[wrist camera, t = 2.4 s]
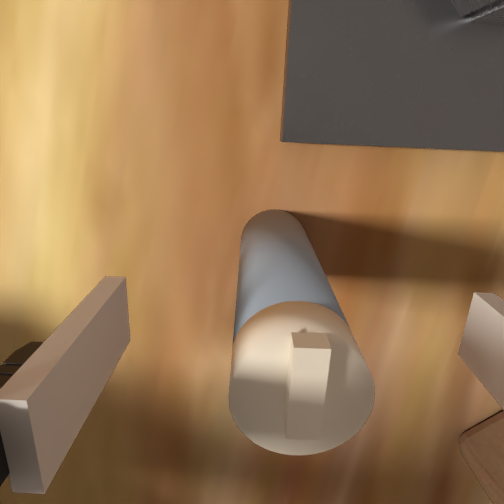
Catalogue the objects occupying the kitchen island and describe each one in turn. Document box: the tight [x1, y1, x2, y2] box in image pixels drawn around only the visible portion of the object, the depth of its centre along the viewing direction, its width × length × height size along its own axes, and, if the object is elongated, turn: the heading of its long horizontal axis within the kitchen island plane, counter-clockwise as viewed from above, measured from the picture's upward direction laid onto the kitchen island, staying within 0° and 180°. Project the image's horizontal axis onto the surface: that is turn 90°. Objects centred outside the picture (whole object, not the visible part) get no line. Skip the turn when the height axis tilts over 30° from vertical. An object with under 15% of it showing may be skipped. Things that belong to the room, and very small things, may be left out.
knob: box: [229, 210, 375, 455], centre depth 17 cm, size 4×4×15 cm
